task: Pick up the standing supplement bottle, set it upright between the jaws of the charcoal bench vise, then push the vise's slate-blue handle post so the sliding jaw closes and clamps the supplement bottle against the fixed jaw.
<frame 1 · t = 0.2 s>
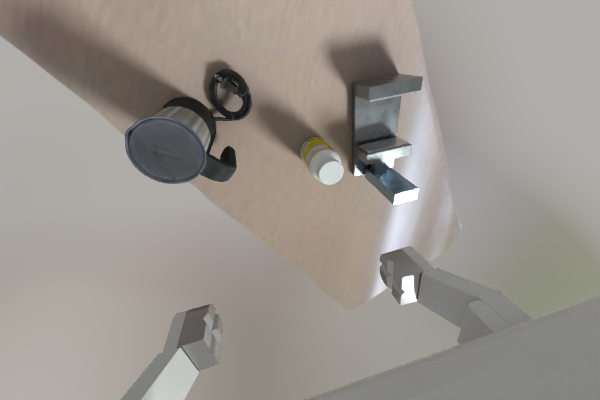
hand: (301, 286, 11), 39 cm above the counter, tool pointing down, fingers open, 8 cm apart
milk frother: (206, 110, 40), on the counter
supplement bottle: (313, 150, 49), on the counter
sliding jaw: (389, 169, 47), point 8 cm above the counter, slide at 0.0 cm
vise base: (373, 128, 49), on the counter
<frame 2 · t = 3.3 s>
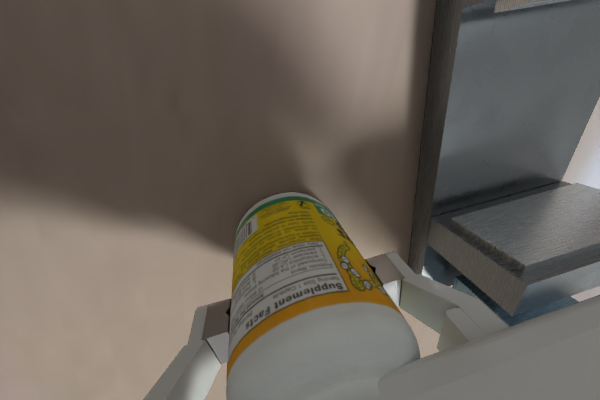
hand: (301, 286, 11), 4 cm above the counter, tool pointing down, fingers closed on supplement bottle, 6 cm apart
supplement bottle: (286, 232, 14), on the counter, touching gripper
vise base: (485, 157, 15), on the counter
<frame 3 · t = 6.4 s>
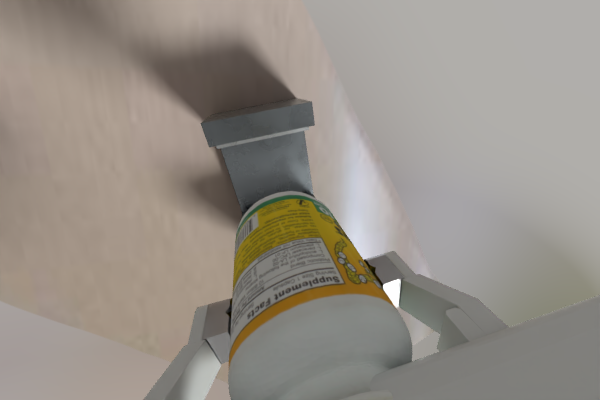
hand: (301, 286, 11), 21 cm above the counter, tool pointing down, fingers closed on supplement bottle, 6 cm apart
supplement bottle: (286, 230, 15), point 16 cm above the counter, touching gripper
sliding jaw: (291, 255, 27), point 8 cm above the counter, slide at 0.0 cm
vise base: (273, 183, 31), on the counter
when the fingers open (7 cm above the counter, at t = 9.6 s): supplement bottle moves 1 cm, resting on vise base.
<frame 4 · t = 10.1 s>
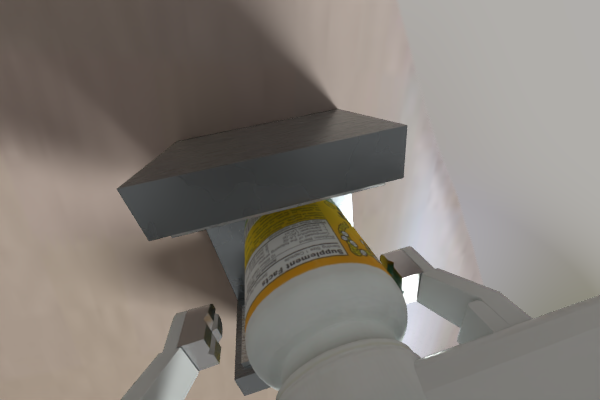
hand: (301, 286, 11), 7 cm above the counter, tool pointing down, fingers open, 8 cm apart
supplement bottle: (291, 219, 16), point 1 cm above the counter, touching vise base
sliding jaw: (327, 396, 15), point 8 cm above the counter, slide at 0.0 cm
vise base: (289, 248, 18), on the counter
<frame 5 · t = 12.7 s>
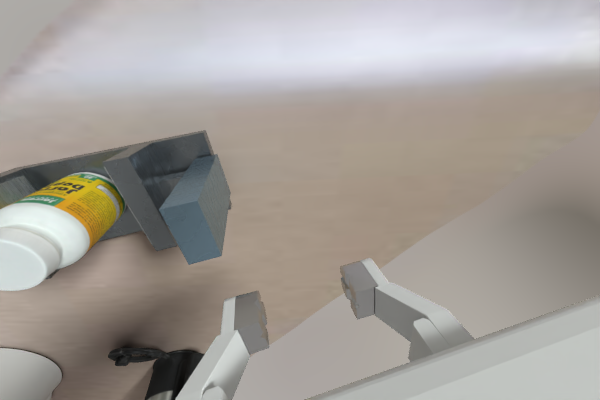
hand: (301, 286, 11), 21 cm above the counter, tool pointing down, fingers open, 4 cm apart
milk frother: (163, 355, 42), on the counter
supplement bottle: (97, 196, 25), point 1 cm above the counter, touching vise base
sliding jaw: (172, 205, 21), point 8 cm above the counter, slide at 0.0 cm
vise base: (137, 188, 27), on the counter
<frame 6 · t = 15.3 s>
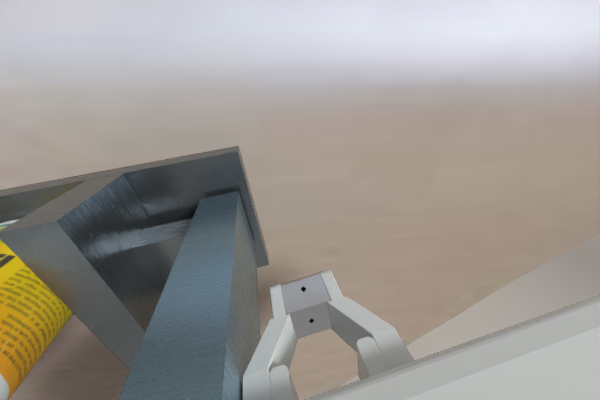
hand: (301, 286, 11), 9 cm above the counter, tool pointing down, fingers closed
supplement bottle: (53, 253, 15), point 1 cm above the counter, touching vise base
sliding jaw: (156, 306, 11), point 8 cm above the counter, slide at 1.4 cm, touching gripper
vise base: (123, 235, 17), on the counter
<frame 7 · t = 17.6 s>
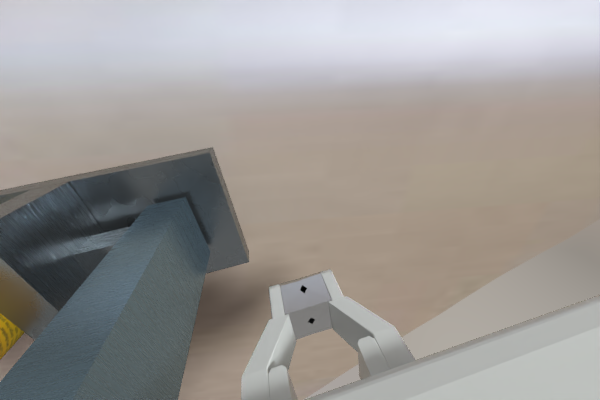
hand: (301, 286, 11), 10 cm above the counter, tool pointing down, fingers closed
supplement bottle: (25, 256, 16), point 1 cm above the counter, touching vise base
sliding jaw: (86, 311, 11), point 8 cm above the counter, slide at 3.2 cm
vise base: (105, 235, 17), on the counter
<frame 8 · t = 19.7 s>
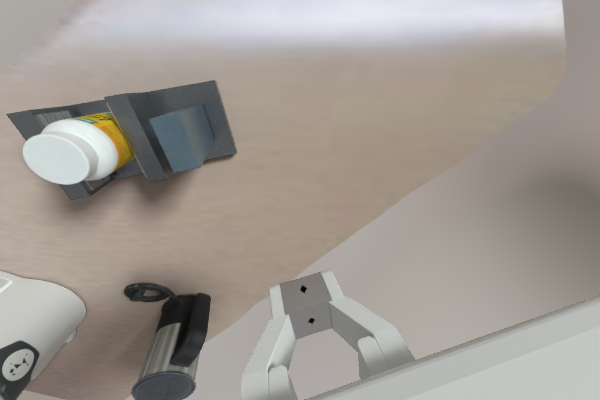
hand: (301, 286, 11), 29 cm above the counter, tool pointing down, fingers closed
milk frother: (171, 298, 46), on the counter
supplement bottle: (119, 136, 30), point 1 cm above the counter, touching vise base
sliding jaw: (162, 138, 25), point 8 cm above the counter, slide at 3.2 cm
vise base: (157, 131, 32), on the counter
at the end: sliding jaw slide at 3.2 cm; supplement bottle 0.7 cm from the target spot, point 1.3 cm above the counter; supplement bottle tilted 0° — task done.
